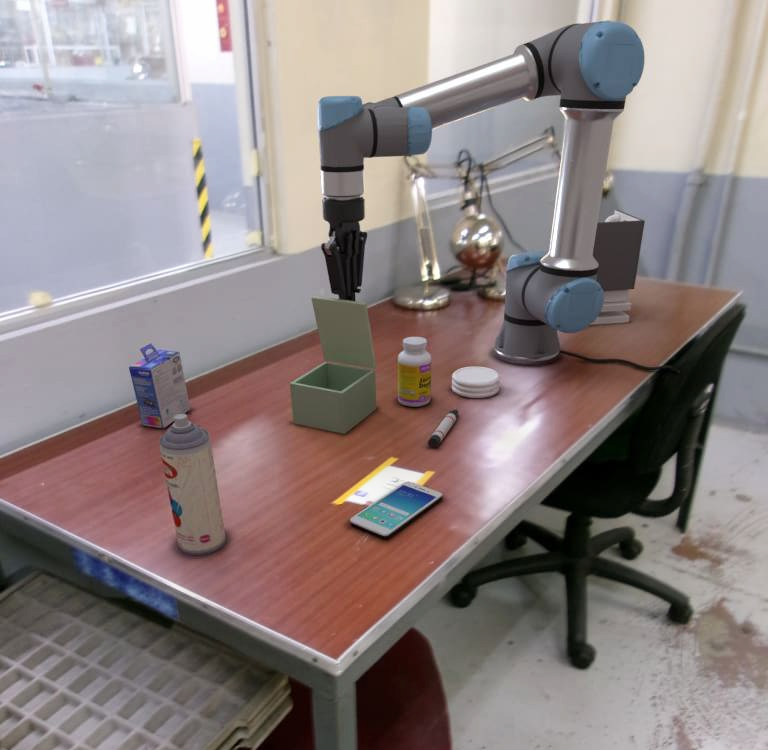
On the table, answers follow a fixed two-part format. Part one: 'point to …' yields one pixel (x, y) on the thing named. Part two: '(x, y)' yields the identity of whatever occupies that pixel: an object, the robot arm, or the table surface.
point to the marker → (443, 428)
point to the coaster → (475, 382)
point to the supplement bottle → (414, 373)
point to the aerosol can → (192, 487)
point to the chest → (333, 397)
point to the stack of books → (617, 263)
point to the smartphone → (396, 509)
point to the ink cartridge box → (159, 387)
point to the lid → (344, 331)
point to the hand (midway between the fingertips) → (348, 327)
